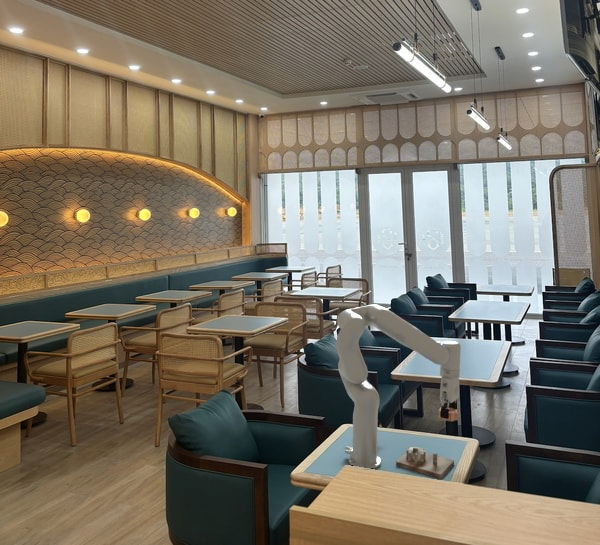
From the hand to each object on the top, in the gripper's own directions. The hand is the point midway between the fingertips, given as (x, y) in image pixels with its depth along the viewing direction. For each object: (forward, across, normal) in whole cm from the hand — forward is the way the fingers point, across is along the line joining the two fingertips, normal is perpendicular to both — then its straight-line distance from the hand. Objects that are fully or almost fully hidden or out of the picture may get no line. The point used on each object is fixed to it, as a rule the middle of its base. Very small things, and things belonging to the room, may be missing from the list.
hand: (448, 414), depth 211 cm
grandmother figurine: (+17, -4, +32) cm, 36 cm away
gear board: (+17, -14, +4) cm, 22 cm away
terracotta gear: (+1, 0, 0) cm, 1 cm away
